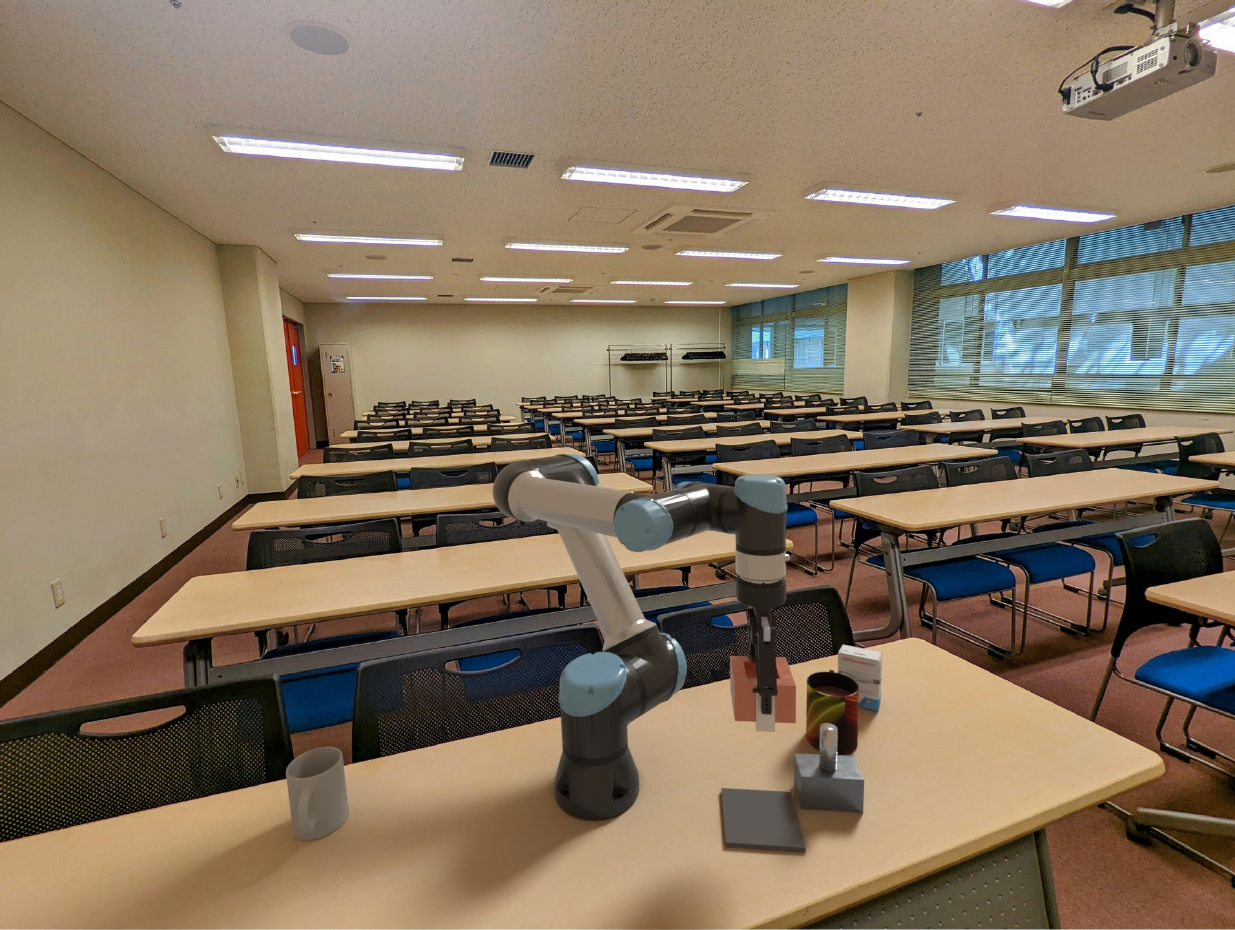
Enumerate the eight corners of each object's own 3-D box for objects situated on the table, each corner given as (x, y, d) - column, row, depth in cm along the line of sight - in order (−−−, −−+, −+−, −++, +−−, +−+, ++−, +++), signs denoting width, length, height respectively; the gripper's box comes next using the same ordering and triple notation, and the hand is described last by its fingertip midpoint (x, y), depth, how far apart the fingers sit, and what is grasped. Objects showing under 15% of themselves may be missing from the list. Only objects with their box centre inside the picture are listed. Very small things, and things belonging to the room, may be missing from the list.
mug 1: (302, 808, 99) (295, 750, 98) (354, 799, 101) (348, 742, 99) (277, 863, 87) (268, 799, 86) (336, 852, 89) (329, 789, 88)
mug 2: (832, 712, 122) (833, 660, 121) (867, 752, 109) (869, 694, 107) (789, 716, 121) (789, 664, 119) (819, 758, 107) (820, 699, 106)
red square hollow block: (734, 721, 86) (734, 684, 85) (730, 689, 95) (730, 656, 94) (795, 723, 85) (795, 685, 84) (785, 691, 94) (785, 657, 93)
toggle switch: (800, 809, 95) (801, 737, 93) (794, 784, 101) (794, 716, 99) (863, 812, 93) (865, 740, 92) (852, 787, 99) (854, 718, 98)
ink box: (881, 701, 126) (883, 651, 124) (878, 712, 121) (879, 661, 120) (840, 691, 130) (842, 643, 128) (836, 701, 126) (837, 652, 124)
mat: (725, 847, 88) (725, 842, 87) (721, 792, 99) (721, 787, 99) (805, 852, 86) (805, 847, 86) (791, 796, 98) (791, 791, 98)
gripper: (799, 602, 76) (798, 757, 79) (775, 555, 97) (775, 677, 100) (742, 602, 77) (743, 754, 80) (730, 555, 98) (732, 676, 101)
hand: (761, 711), depth 90 cm, fingers closed on red square hollow block, 9 cm apart
